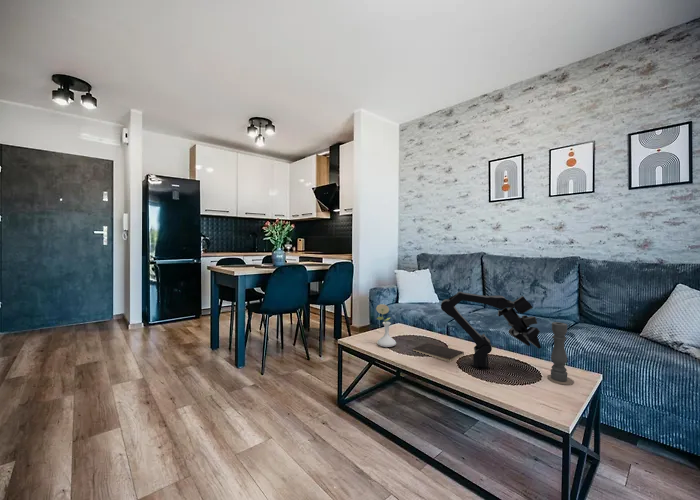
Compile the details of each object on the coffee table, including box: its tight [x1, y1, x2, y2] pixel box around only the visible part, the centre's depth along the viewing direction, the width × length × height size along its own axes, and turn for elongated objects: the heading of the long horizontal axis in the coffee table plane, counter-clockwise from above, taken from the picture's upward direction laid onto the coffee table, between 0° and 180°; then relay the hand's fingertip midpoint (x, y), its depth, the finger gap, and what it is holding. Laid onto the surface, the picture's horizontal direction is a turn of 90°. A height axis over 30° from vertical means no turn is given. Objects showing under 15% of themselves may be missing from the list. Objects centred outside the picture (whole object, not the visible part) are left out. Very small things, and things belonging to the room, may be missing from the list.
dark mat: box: [546, 374, 575, 386], centre depth 139 cm, size 10×10×1 cm
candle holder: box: [550, 321, 568, 382], centre depth 139 cm, size 6×6×25 cm
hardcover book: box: [412, 342, 465, 363], centre depth 175 cm, size 16×23×2 cm
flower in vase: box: [375, 303, 397, 348], centre depth 188 cm, size 13×11×25 cm
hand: (534, 346), depth 147 cm, fingers open, 9 cm apart
